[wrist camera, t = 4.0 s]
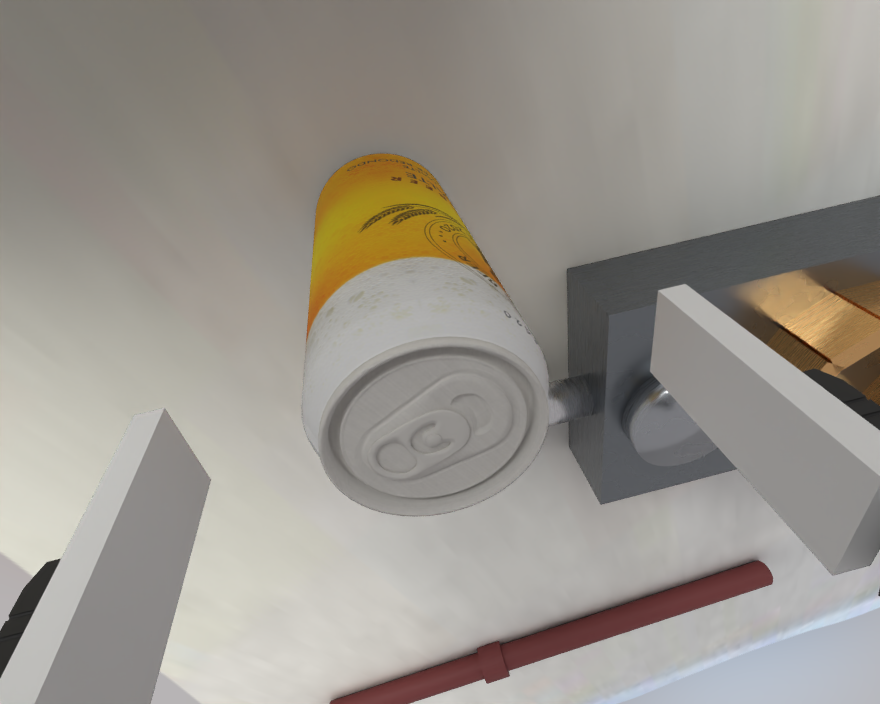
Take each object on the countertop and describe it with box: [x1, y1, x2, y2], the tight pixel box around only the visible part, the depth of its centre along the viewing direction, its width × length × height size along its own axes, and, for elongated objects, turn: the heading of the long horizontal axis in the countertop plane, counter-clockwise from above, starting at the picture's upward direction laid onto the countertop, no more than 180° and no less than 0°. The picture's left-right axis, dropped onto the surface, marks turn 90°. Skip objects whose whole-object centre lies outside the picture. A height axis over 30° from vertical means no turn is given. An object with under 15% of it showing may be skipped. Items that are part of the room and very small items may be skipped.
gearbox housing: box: [547, 196, 880, 504], centre depth 28 cm, size 25×14×8 cm, turn 100°
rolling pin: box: [330, 560, 773, 704], centre depth 49 cm, size 45×3×3 cm, turn 106°
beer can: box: [301, 153, 549, 516], centre depth 17 cm, size 6×6×15 cm
